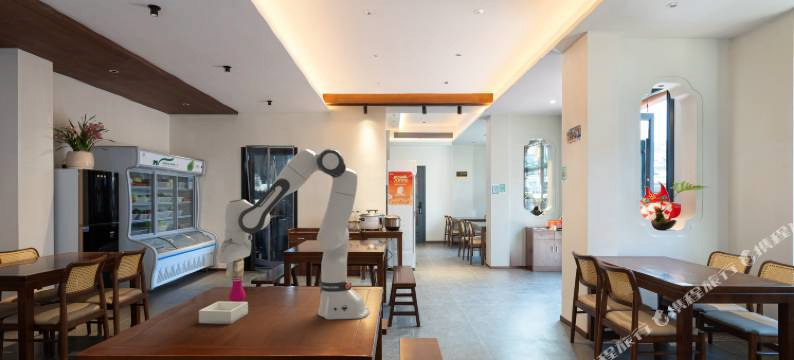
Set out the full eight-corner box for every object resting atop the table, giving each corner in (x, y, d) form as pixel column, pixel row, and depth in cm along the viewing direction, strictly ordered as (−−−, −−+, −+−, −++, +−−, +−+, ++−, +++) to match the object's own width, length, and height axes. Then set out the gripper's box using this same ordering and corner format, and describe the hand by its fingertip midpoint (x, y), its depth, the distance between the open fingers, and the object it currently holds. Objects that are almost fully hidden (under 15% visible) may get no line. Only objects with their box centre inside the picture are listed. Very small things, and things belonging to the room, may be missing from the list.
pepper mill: (248, 303, 194) (248, 261, 195) (240, 308, 187) (240, 264, 187) (233, 303, 195) (233, 261, 195) (226, 307, 188) (225, 264, 188)
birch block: (243, 274, 174) (243, 260, 174) (237, 277, 169) (237, 262, 169) (232, 274, 175) (232, 260, 175) (226, 276, 170) (226, 262, 170)
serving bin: (247, 313, 179) (247, 302, 179) (231, 323, 165) (231, 311, 165) (218, 312, 180) (218, 301, 180) (198, 322, 166) (198, 310, 167)
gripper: (230, 240, 162) (229, 275, 161) (254, 235, 182) (253, 266, 182) (215, 240, 162) (214, 275, 162) (240, 234, 183) (239, 265, 182)
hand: (235, 270), depth 172 cm, fingers closed on birch block, 5 cm apart
